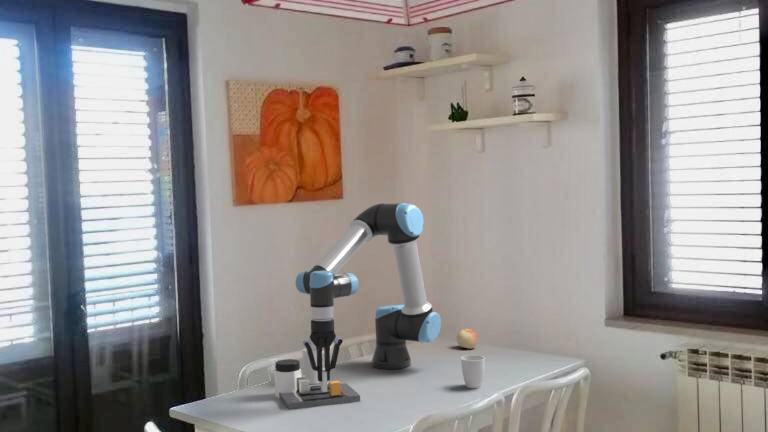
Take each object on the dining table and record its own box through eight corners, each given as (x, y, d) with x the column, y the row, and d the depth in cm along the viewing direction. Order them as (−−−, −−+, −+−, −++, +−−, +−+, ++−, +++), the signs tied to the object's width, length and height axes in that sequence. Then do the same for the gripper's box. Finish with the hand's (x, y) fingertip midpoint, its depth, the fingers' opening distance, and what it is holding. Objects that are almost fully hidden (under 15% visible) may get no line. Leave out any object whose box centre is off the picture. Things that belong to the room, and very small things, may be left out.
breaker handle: (338, 392, 268) (337, 380, 268) (340, 394, 265) (340, 382, 265) (329, 393, 267) (329, 381, 267) (331, 395, 264) (331, 383, 264)
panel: (346, 388, 283) (345, 370, 282) (360, 401, 266) (359, 381, 266) (277, 396, 275) (277, 376, 275) (287, 409, 259) (287, 389, 259)
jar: (285, 392, 281) (284, 358, 281) (305, 394, 278) (304, 359, 277) (271, 399, 273) (269, 363, 273) (291, 401, 270) (290, 365, 269)
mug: (309, 385, 288) (308, 352, 287) (299, 382, 293) (298, 349, 293) (333, 380, 294) (332, 348, 293) (323, 377, 299) (322, 345, 299)
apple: (467, 345, 350) (466, 326, 350) (482, 348, 343) (481, 329, 343) (452, 348, 344) (452, 329, 344) (467, 351, 338) (467, 332, 337)
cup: (486, 384, 285) (486, 355, 284) (483, 390, 277) (482, 360, 277) (463, 382, 287) (463, 354, 287) (459, 388, 279) (459, 360, 279)
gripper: (338, 315, 269) (340, 386, 271) (300, 318, 265) (301, 390, 266) (344, 319, 262) (346, 391, 263) (305, 322, 258) (307, 395, 259)
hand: (324, 390), depth 265 cm, fingers closed
